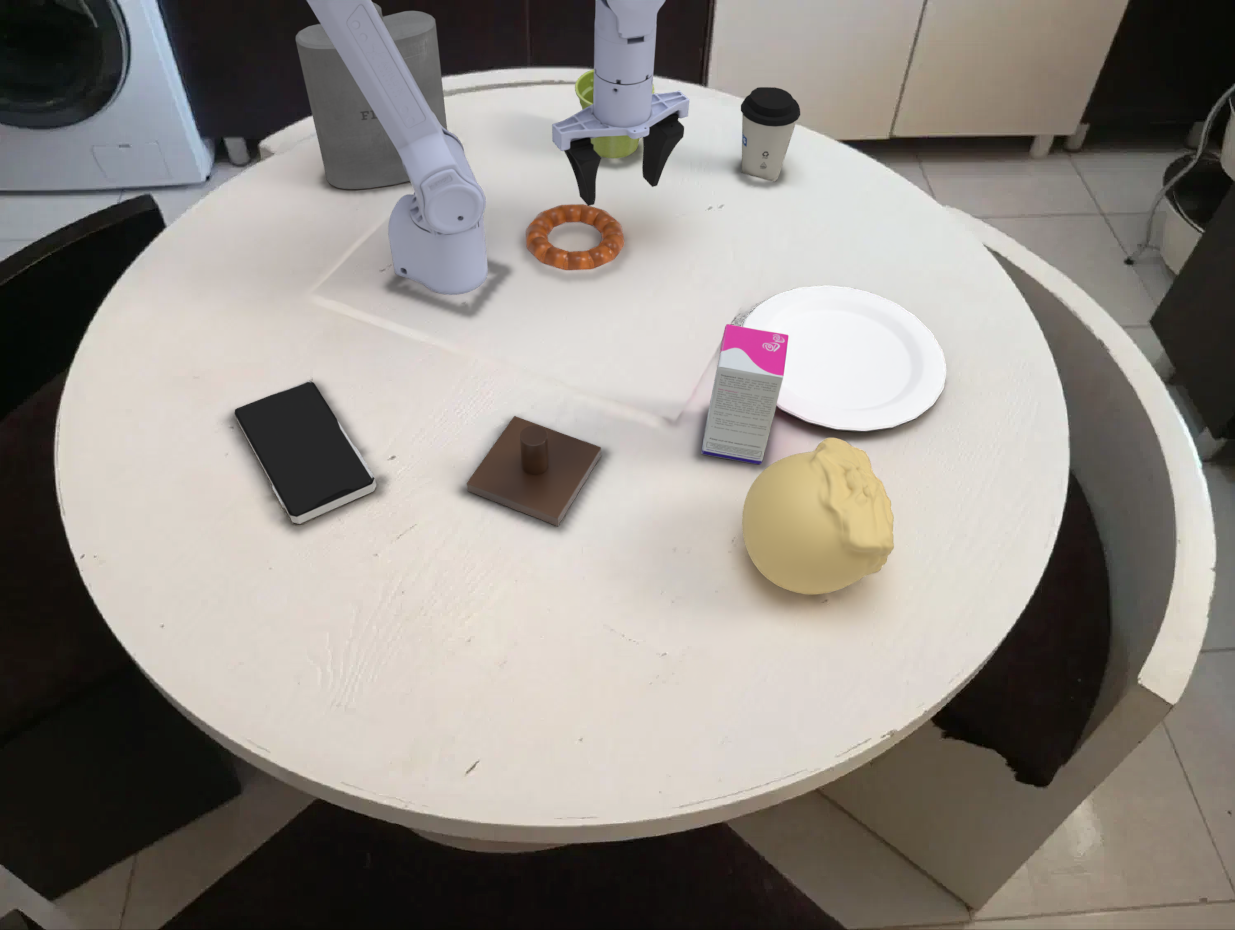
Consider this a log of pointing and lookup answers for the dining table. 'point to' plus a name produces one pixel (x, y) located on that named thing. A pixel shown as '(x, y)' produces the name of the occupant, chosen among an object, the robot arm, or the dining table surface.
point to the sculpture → (818, 519)
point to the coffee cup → (767, 131)
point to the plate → (852, 358)
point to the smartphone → (304, 452)
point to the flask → (365, 101)
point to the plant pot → (605, 144)
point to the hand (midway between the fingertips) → (618, 190)
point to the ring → (574, 259)
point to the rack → (534, 470)
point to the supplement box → (744, 393)
